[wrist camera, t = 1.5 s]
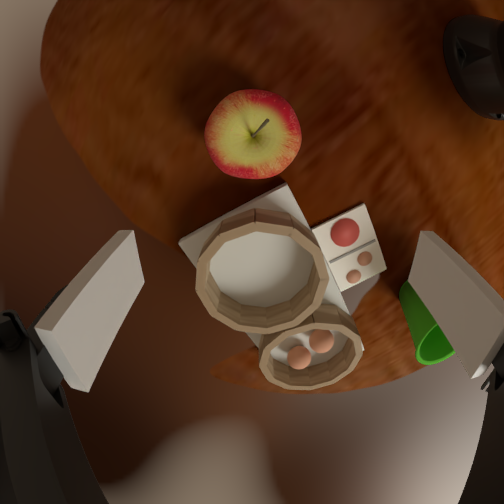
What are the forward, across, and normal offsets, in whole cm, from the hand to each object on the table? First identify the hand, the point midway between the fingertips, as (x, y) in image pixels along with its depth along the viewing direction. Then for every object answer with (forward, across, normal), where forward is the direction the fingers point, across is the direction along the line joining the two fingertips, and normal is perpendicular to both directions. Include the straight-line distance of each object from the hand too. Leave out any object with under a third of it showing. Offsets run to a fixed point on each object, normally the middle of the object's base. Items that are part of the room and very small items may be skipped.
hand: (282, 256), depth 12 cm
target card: (+20, +11, -10) cm, 24 cm away
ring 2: (+18, +6, -24) cm, 31 cm away
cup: (+20, +22, -16) cm, 34 cm away
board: (+19, +3, -18) cm, 26 cm away
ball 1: (+18, +5, -26) cm, 32 cm away
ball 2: (+18, +8, -22) cm, 30 cm away
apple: (+20, -1, +4) cm, 20 cm away
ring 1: (+18, -1, -11) cm, 21 cm away
